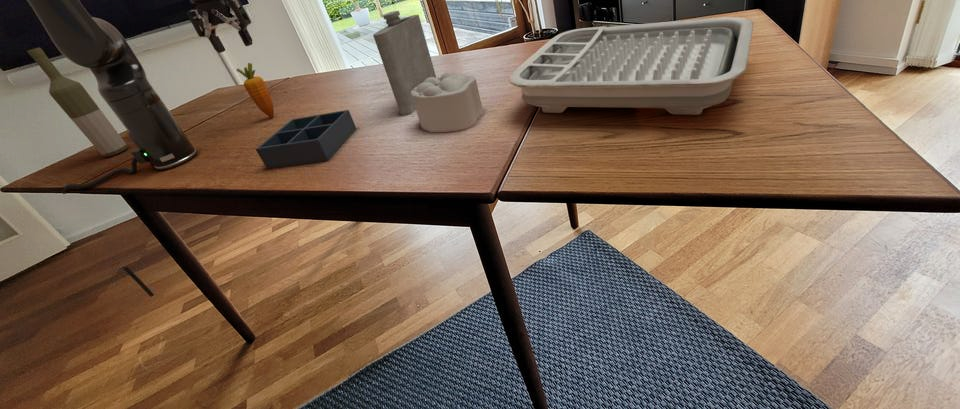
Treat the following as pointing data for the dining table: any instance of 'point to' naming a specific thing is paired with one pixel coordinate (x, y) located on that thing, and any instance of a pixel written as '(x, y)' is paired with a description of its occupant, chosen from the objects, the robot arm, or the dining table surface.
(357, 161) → the dining table surface
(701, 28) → the dish rack
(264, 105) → the carrot
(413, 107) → the hip flask
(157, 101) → the robot arm
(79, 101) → the bottle
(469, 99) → the lumpy-topped squat cylinder
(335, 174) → the dining table surface
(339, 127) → the four-compartment tray
